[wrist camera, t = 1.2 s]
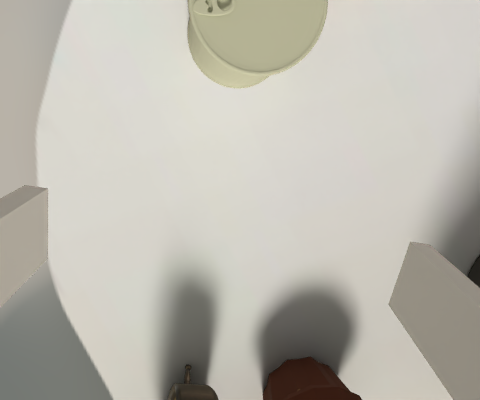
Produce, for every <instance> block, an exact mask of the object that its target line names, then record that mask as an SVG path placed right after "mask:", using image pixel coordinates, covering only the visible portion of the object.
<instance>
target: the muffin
mask: <svg viewBox="0 0 480 400" xmlns="http://www.w3.org/2000/svg"><path fill="white" fill-rule="evenodd" d="M263 400H362V399H361V397H360V396H359V395H357V394H354V393H352V392H350V391H349V389H348V388H347V387H346V386H345V385H344V384H343V382H342V381H341V380H340V379H339V378H338V377H337V375H336V374H335V373H334V372H333V371H332V370H331V368H330V367H329V366H327V365H325V364H322V363H320V362H318V361H316V360H315V359H313V358H312V357H306V358H302V359H291V360H286V361H285V362H284V363H283V364H282V365H281V366H280V367H279V368H278V369H276V370H275V371H273V372H272V373H270V374H269V377H268V382H267V386H266V388H265V390H264V393H263Z"/></svg>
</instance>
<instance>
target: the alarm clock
mask: <svg viewBox="0 0 480 400" xmlns="http://www.w3.org/2000/svg"><path fill="white" fill-rule="evenodd" d="M185 368H186V373H185V377H184V384H177V383H175V384H174V385H173V386H172V387H171V390H170V393H169V396H168V400H218V397H217V395H216V393H215V391H214V390H213V389H212V388H211V387H210V386H208V385H195V384H190V381H191V376H190V370H191V366H190V365H186V366H185Z"/></svg>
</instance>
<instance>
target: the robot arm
mask: <svg viewBox="0 0 480 400" xmlns="http://www.w3.org/2000/svg"><path fill="white" fill-rule="evenodd" d="M47 259H48V188H41V187H34V186H27V185H24V186H22V187H21V188H19V189H17V190H15V191H14V192H12V193H10V194H8V195H6V196H5V197H3V198H1V199H0V308H1V307H2V306H3V305H4V303H5V302H6V301H7V300H8V299H9V298H10V297H11V296H12V295H13V294H14V293H15V292H16V291H17V290H18V289H19V288H20V287H21V286H22V285H23V284H24V283H25V282H26V281H27V280H28V279H29V278H30V277H31V276H32V275H33V274H34V273H35V272H36V271H37V270H38V269H39V268H40V267H41V266H42V265H43V264H44V263H45V261H46V260H47ZM389 306H390V307H391V309H392V310H393V312H394V313H395V315H396V316H397V318H398V319H399V321H400V322H401V324H402V325H403V327H404V328H405V329H406V331H407V332H408V334H409V335H410V337H411V338H412V340H413V341H414V343H415V344H416V346H417V347H418V349H419V350H420V351H421V353H422V354H423V356H424V357H425V359H426V360H427V362H428V363H429V365H430V366H431V368H432V369H433V371H434V372H435V373H436V375H437V376H438V378H439V379H440V381H441V382H442V384H443V385H444V387H445V388H446V390H447V391H448V393H449V394H450V395H451V397H452V398H453V400H480V256H479V258H478V259H477V260H476V262H475V264H474V265H473V267H472V269H471V271H470V273H469V275H468V277H466V276H465V275H464V274H463V273H462V272H461V271H460V270H458V269H457V268H456V267H455V266H454V265H453V264H451V263H450V262H449V261H448V260H447V259H446V258H444V257H443V256H442V255H441V254H440V253H439V252H438V251H436V250H435V249H434V248H433V247H432V246H431V245H428V244H421V243H414V242H410V244H409V247H408V250H407V253H406V256H405V259H404V261H403V264H402V267H401V270H400V273H399V276H398V279H397V282H396V285H395V287H394V290H393V293H392V296H391V299H390V302H389Z"/></svg>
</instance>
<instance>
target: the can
mask: <svg viewBox="0 0 480 400" xmlns="http://www.w3.org/2000/svg"><path fill="white" fill-rule="evenodd" d="M327 7H328V0H188V8H189V14H190V19H189V24H188V43H189V48H190V51H191V54H192V57H193V59H194V61H195V63H196V64H197V66H198V67H199V69H200V70H201V71H202V72H203V73H204V74H205V75H206V76H207V77H208V78H210V79H211V80H212V81H214V82H216V83H218V84H220V85H223V86H226V87H230V88H246V87H251V86H254V85H256V84H258V83H260V82H262V81H263V80H265V79H266V78H267V77H269V76H270V75H273V74H277V73H280V72H283V71H285V70H287V69H289V68H291V67H293V66H294V65H296V64H297V63H299V62H300V61H301V60H302V59H303V58H304V57H305V56H306V55H307V54H308V53H309V52H310V51H311V49H312V48H313V47H314V45H315V44H316V42H317V40H318V38H319V36H320V34H321V32H322V29H323V26H324V23H325V19H326V15H327Z"/></svg>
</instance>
